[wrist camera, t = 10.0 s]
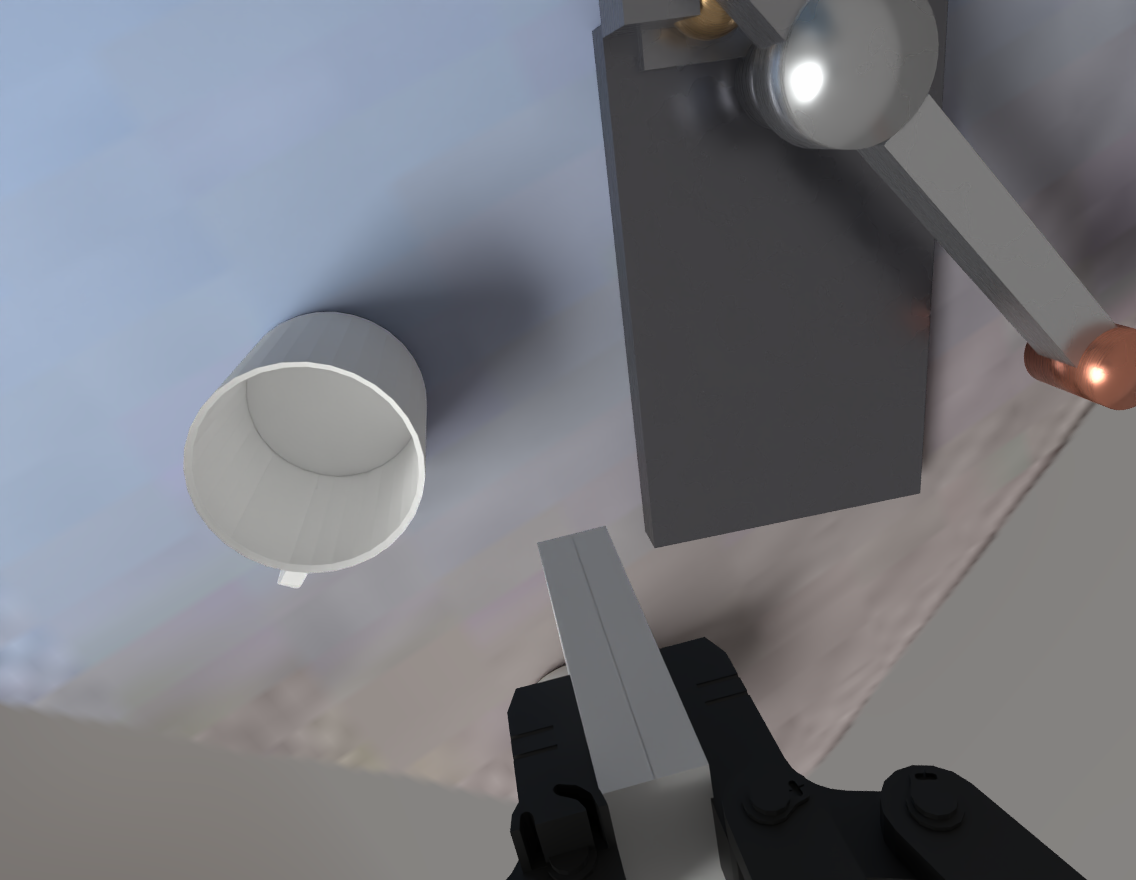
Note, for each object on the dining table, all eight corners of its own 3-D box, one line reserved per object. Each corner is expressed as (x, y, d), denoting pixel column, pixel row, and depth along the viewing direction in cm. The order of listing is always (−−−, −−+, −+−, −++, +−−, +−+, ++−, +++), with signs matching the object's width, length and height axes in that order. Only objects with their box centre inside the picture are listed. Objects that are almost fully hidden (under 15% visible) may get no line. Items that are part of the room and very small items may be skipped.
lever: (646, 3, 29) (681, -20, 25) (752, -136, 28) (807, -183, 24) (1031, 412, 39) (1101, 444, 35) (1121, 322, 38) (1203, 344, 34)
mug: (281, 277, 35) (233, 320, 27) (456, 358, 38) (463, 421, 30) (193, 487, 38) (125, 586, 30) (361, 548, 41) (342, 655, 33)
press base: (579, -88, 32) (610, -136, 26) (927, -128, 34) (1026, -182, 28) (645, 531, 44) (676, 588, 38) (900, 479, 45) (966, 526, 40)
